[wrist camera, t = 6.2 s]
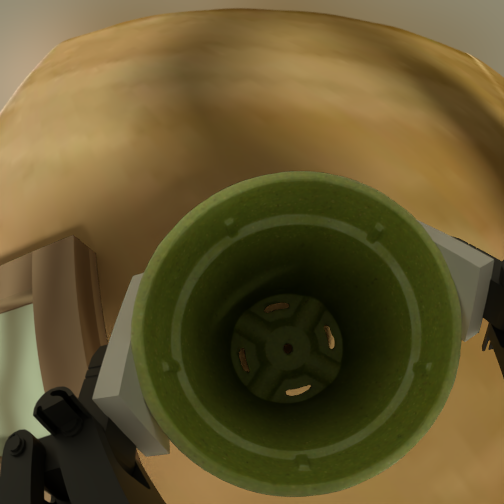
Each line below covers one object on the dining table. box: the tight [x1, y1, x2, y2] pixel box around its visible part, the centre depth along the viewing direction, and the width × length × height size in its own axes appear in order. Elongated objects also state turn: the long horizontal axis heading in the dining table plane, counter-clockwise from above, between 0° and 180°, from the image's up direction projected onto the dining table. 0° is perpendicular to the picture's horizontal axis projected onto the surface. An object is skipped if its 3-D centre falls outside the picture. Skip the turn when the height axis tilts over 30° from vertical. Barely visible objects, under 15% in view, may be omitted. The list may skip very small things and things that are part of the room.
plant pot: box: [131, 171, 462, 497], centre depth 11 cm, size 9×9×9 cm
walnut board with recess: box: [0, 235, 142, 502], centre depth 13 cm, size 18×16×3 cm
